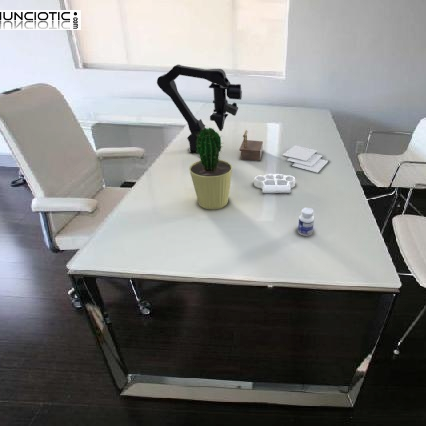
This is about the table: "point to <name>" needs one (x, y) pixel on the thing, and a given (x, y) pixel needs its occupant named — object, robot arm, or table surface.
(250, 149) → the lid
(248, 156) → the box
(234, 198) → the table surface
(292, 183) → the white brass knuckles
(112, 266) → the table surface
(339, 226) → the table surface
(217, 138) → the potted cactus
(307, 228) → the pill bottle
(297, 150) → the paper stack
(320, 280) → the table surface
